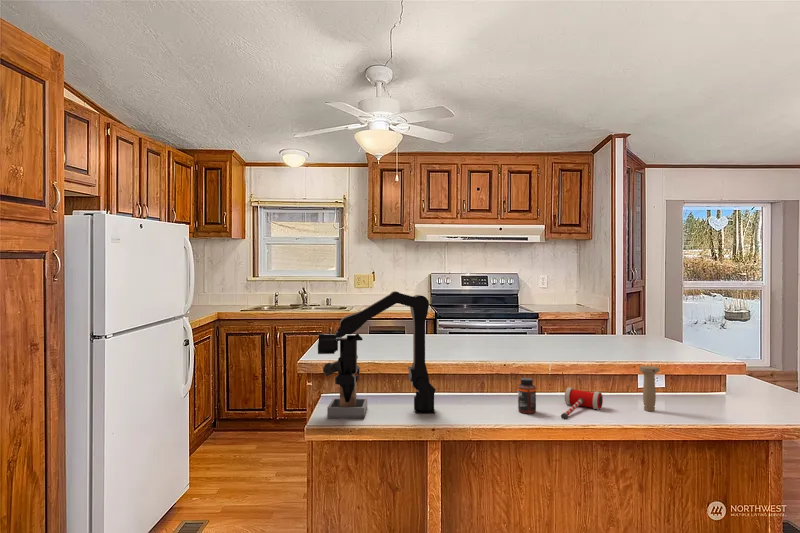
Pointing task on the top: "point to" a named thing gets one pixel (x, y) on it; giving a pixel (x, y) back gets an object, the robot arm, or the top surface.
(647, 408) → the handle
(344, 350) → the robot arm
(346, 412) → the grey square tray
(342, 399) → the walnut block
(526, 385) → the supplement bottle
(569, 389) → the toy hammer
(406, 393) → the top surface
